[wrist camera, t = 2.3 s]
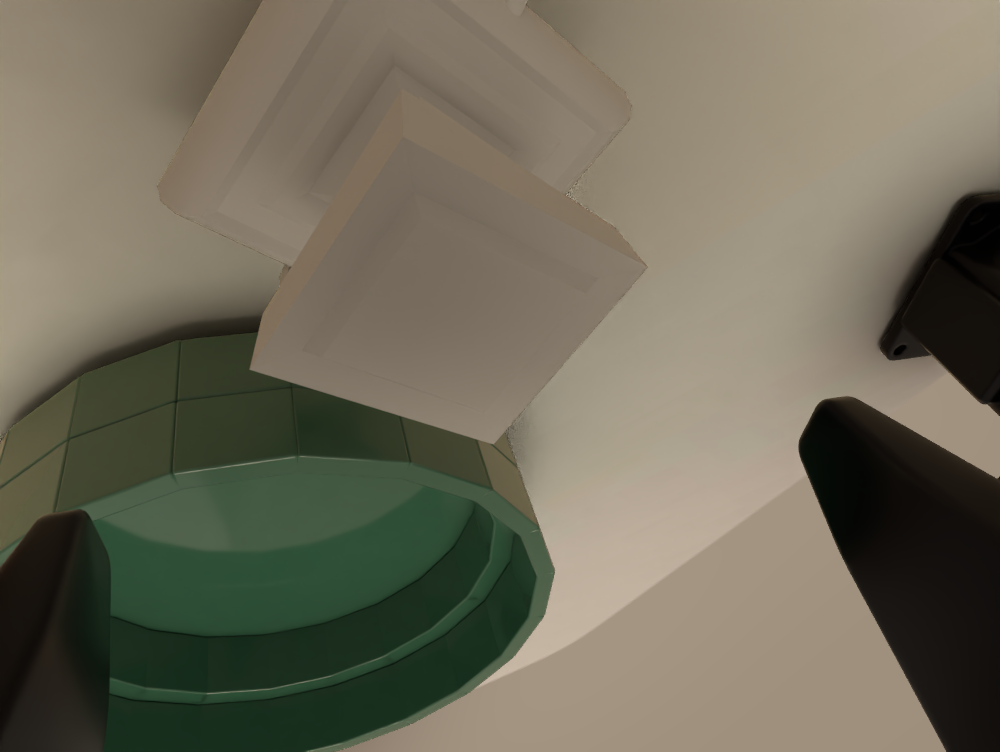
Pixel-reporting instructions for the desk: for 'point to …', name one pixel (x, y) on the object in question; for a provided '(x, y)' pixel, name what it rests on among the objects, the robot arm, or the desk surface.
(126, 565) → the green bowl
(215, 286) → the desk surface
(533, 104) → the stamp
